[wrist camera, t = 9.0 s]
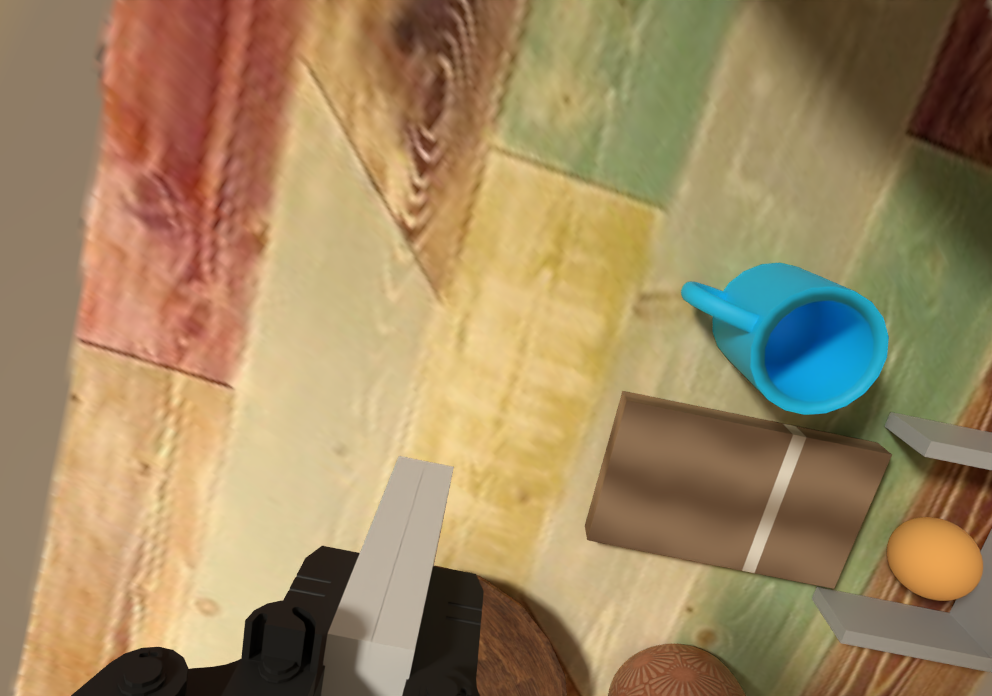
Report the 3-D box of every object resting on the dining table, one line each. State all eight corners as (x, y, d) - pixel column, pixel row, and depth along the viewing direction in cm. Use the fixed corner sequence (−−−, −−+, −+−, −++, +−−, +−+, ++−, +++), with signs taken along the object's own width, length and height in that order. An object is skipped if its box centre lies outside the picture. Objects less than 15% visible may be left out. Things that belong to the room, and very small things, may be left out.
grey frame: (890, 412, 48) (931, 440, 43) (1051, 444, 48) (1109, 477, 44) (811, 598, 53) (840, 642, 48) (957, 627, 53) (1000, 674, 49)
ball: (888, 509, 48) (972, 563, 43) (931, 494, 51) (1014, 544, 46) (858, 571, 50) (935, 628, 46) (901, 553, 53) (977, 606, 49)
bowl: (485, 497, 52) (481, 532, 47) (602, 691, 57) (609, 741, 52) (284, 588, 55) (262, 630, 50) (413, 764, 60) (404, 817, 56)
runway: (622, 391, 48) (626, 400, 46) (877, 442, 49) (892, 454, 47) (584, 525, 52) (587, 540, 50) (822, 572, 52) (834, 588, 50)
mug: (848, 287, 45) (915, 316, 38) (790, 387, 48) (843, 433, 40) (696, 224, 45) (732, 240, 37) (645, 328, 47) (669, 364, 39)
